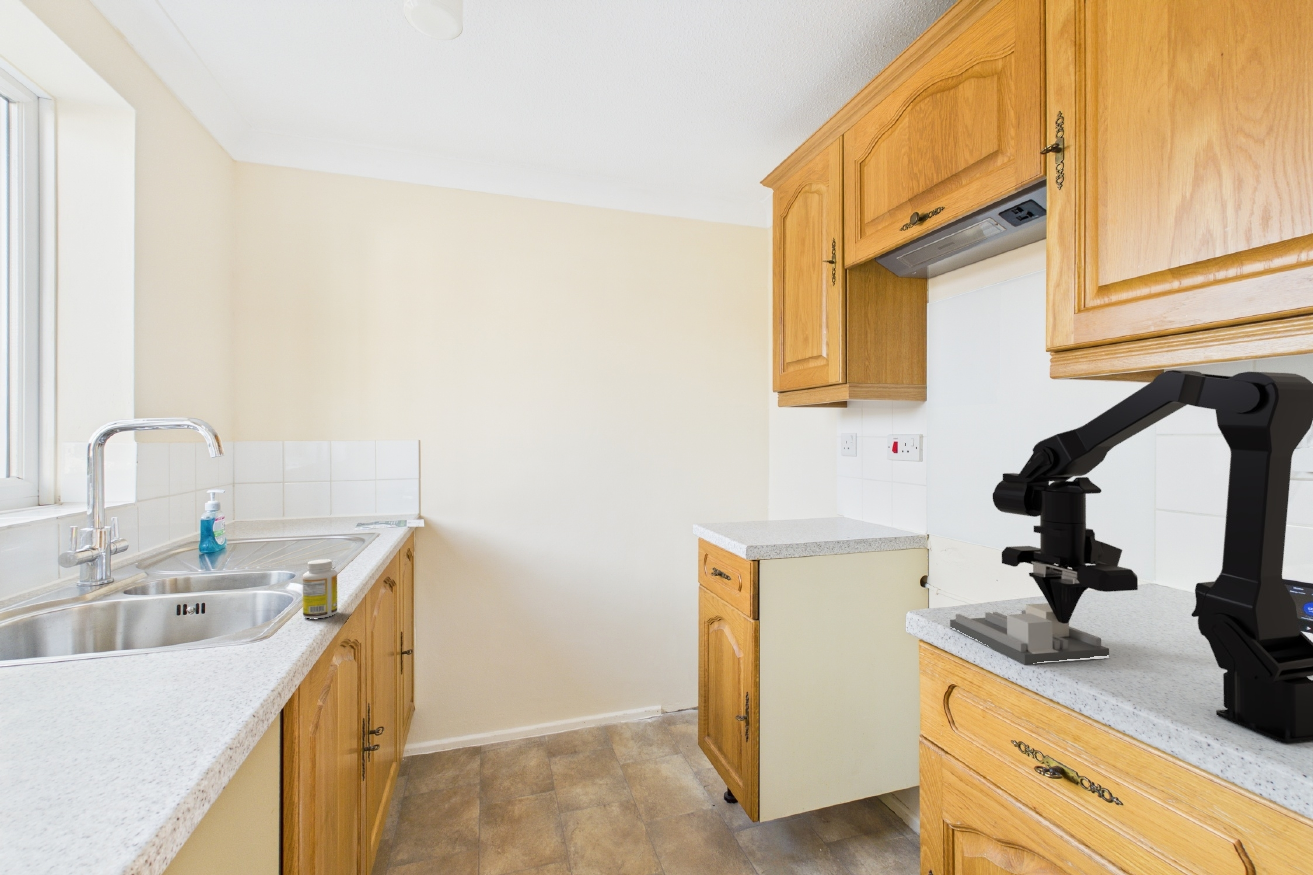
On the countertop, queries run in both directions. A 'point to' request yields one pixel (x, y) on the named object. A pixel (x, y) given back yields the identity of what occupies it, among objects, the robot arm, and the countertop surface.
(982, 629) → the switch board
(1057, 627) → the beige cube
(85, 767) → the countertop surface
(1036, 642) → the light grey cube
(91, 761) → the countertop surface
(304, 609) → the supplement bottle
